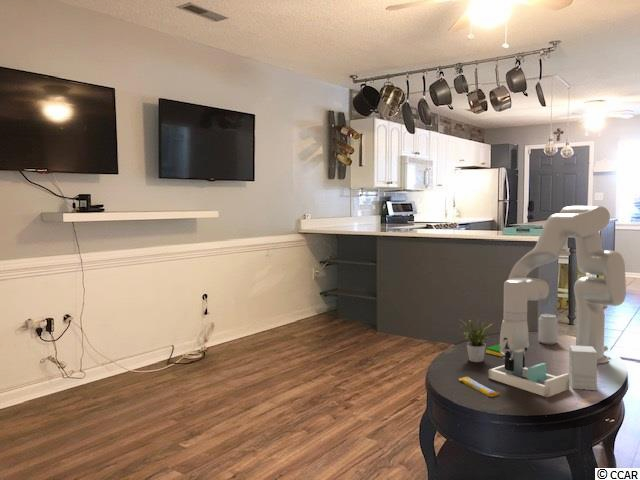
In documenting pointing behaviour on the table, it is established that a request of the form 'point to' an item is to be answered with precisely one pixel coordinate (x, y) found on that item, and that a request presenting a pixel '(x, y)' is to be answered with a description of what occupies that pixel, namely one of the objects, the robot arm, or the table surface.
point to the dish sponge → (494, 350)
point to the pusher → (537, 373)
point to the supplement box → (583, 367)
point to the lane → (551, 383)
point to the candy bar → (478, 386)
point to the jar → (517, 363)
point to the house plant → (476, 342)
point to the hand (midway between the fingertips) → (514, 368)
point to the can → (548, 329)
